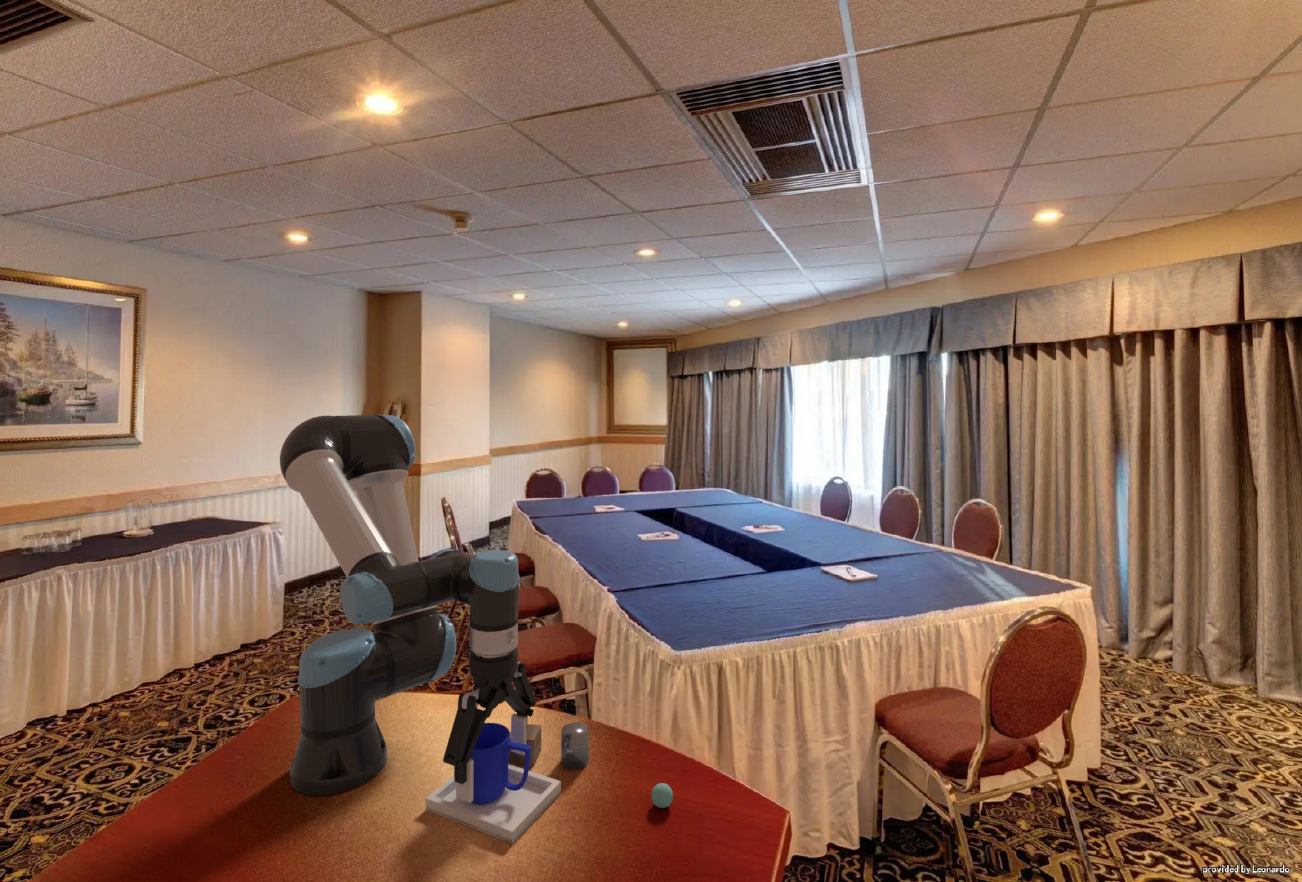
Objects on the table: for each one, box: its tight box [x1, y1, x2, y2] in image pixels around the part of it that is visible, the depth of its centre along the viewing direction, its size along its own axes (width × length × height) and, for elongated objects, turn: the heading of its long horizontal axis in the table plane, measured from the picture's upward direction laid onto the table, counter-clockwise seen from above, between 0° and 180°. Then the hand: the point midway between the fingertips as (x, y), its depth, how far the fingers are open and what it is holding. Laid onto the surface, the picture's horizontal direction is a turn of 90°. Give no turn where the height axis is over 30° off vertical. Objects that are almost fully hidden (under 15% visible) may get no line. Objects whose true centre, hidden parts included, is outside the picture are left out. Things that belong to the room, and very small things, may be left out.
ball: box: [650, 782, 674, 809], centre depth 99 cm, size 4×4×4 cm
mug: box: [470, 722, 531, 804], centre depth 100 cm, size 8×12×10 cm
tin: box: [560, 722, 590, 771], centre depth 110 cm, size 5×5×6 cm
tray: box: [425, 764, 562, 845], centre depth 99 cm, size 17×13×2 cm
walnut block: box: [508, 723, 542, 767], centre depth 111 cm, size 5×5×5 cm
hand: (493, 774), depth 99 cm, fingers open, 13 cm apart
